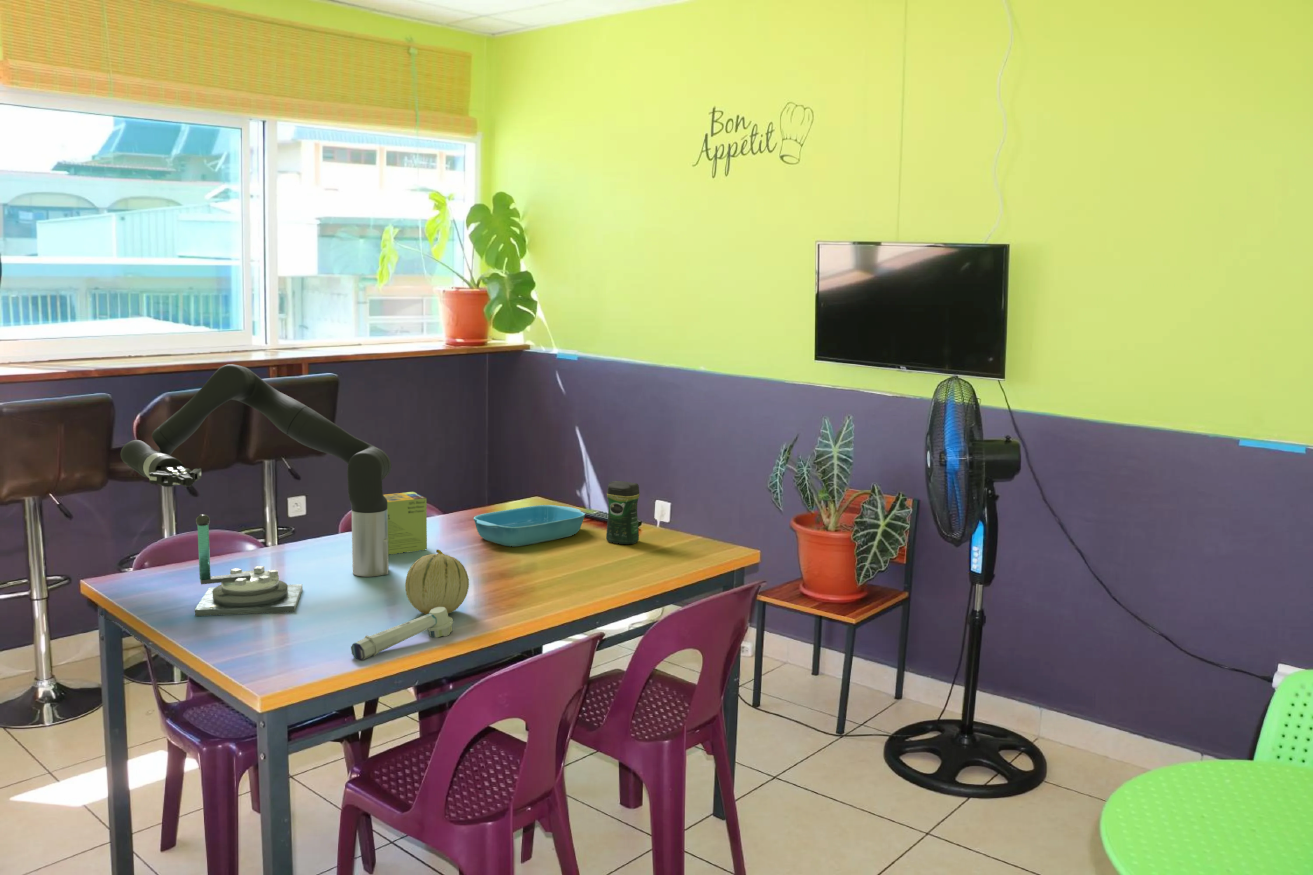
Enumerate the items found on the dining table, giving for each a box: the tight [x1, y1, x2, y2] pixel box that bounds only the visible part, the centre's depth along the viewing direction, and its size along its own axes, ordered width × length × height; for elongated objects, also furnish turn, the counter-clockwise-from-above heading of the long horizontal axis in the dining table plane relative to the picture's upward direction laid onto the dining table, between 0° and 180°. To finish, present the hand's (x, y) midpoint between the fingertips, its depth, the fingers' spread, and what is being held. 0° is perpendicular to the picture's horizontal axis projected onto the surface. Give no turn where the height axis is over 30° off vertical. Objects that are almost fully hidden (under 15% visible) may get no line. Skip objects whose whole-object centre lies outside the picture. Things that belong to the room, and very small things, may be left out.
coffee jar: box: [605, 480, 641, 545], centre depth 328 cm, size 10×8×19 cm
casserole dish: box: [473, 504, 586, 547], centre depth 333 cm, size 37×22×7 cm, turn 136°
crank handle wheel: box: [195, 513, 280, 596], centre depth 259 cm, size 18×13×19 cm
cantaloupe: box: [404, 549, 470, 615], centre depth 256 cm, size 15×15×15 cm
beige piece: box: [350, 607, 454, 661], centre depth 235 cm, size 5×7×25 cm
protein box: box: [383, 491, 428, 556], centre depth 313 cm, size 10×15×16 cm
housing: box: [194, 580, 303, 617], centre depth 262 cm, size 22×18×4 cm
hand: (188, 482), depth 261 cm, fingers closed
